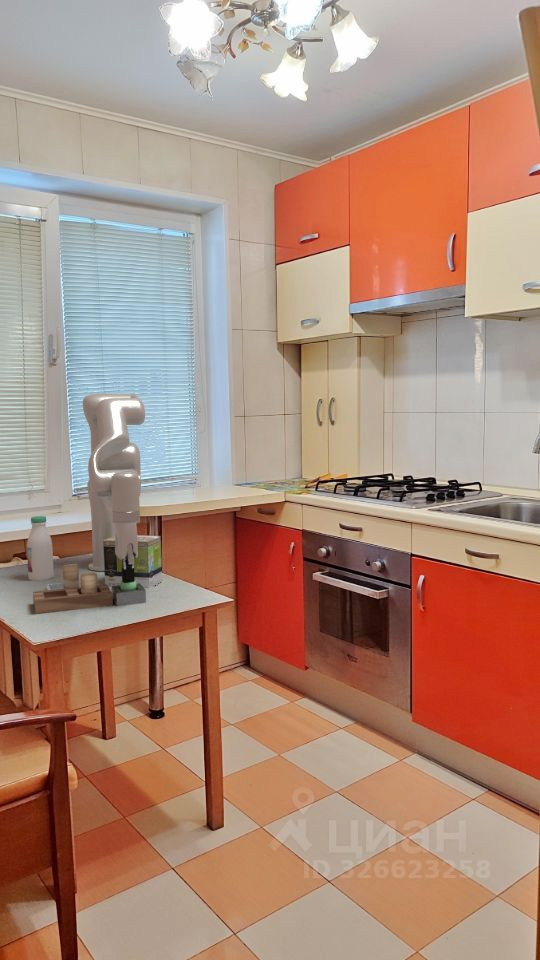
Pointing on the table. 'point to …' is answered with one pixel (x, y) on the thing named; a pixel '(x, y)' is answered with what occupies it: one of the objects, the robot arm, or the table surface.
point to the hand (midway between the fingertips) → (128, 581)
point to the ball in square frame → (128, 595)
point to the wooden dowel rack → (71, 599)
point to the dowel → (70, 576)
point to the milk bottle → (39, 551)
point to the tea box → (135, 562)
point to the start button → (128, 586)
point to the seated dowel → (88, 583)
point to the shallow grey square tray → (57, 586)
